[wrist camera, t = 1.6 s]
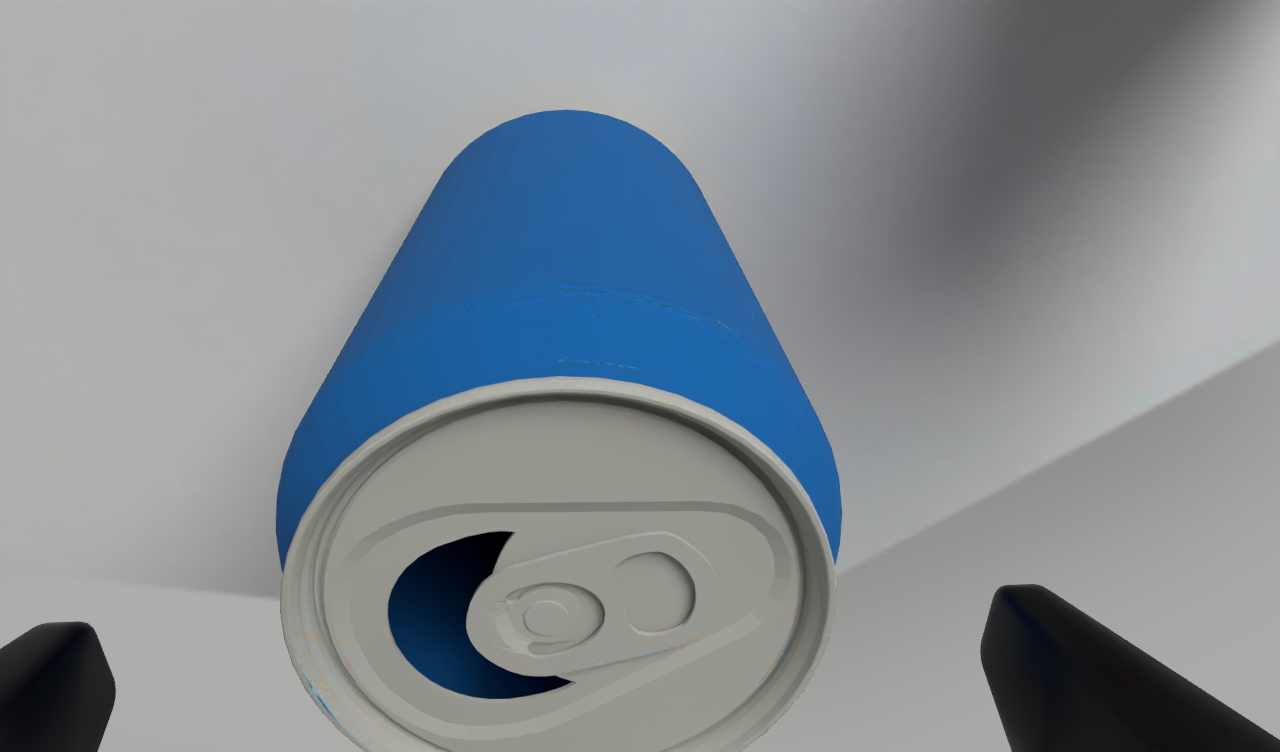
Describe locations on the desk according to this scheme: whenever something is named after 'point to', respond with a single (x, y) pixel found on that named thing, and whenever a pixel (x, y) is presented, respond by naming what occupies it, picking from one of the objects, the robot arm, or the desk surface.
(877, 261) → the desk surface
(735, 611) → the beverage can
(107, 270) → the desk surface
